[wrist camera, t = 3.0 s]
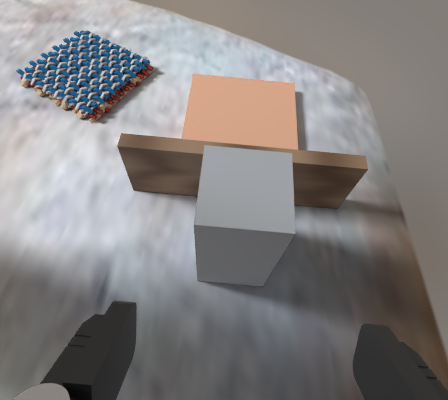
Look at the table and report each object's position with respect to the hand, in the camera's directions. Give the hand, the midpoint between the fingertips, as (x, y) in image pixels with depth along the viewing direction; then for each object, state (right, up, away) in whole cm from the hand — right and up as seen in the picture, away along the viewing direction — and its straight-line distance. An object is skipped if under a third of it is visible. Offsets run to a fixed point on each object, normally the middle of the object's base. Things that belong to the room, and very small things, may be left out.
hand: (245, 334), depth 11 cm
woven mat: (-15, +18, +24) cm, 34 cm away
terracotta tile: (+1, +13, +21) cm, 25 cm away
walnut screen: (0, +5, +17) cm, 18 cm away
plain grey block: (0, +1, +14) cm, 14 cm away
